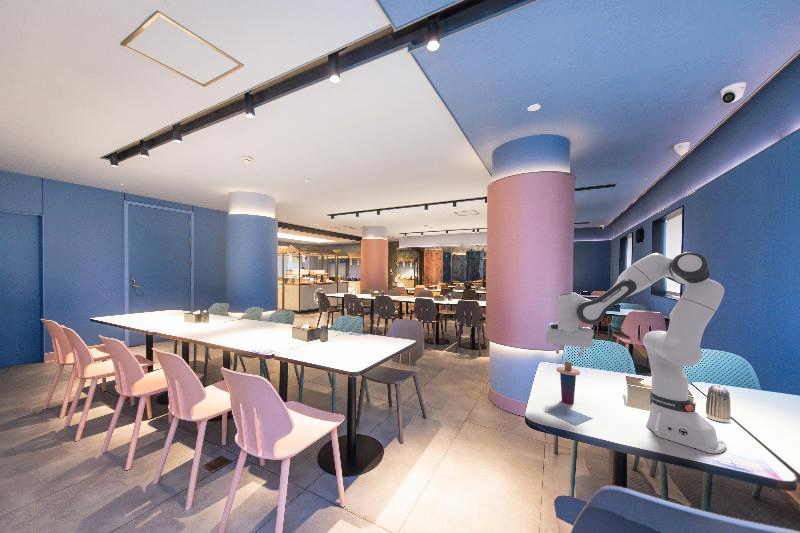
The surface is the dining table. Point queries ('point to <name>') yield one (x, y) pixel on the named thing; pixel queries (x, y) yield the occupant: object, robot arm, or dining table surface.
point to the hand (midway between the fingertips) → (568, 354)
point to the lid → (568, 369)
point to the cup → (567, 388)
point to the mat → (568, 415)
